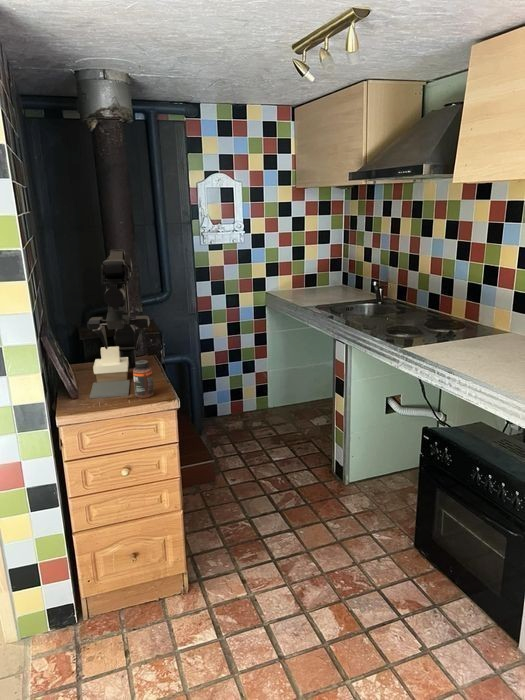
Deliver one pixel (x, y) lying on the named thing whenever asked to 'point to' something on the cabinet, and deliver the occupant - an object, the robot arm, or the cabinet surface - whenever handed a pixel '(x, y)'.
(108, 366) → the lid
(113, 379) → the storage box
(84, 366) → the cabinet surface
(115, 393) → the mat
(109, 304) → the robot arm
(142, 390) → the supplement bottle
